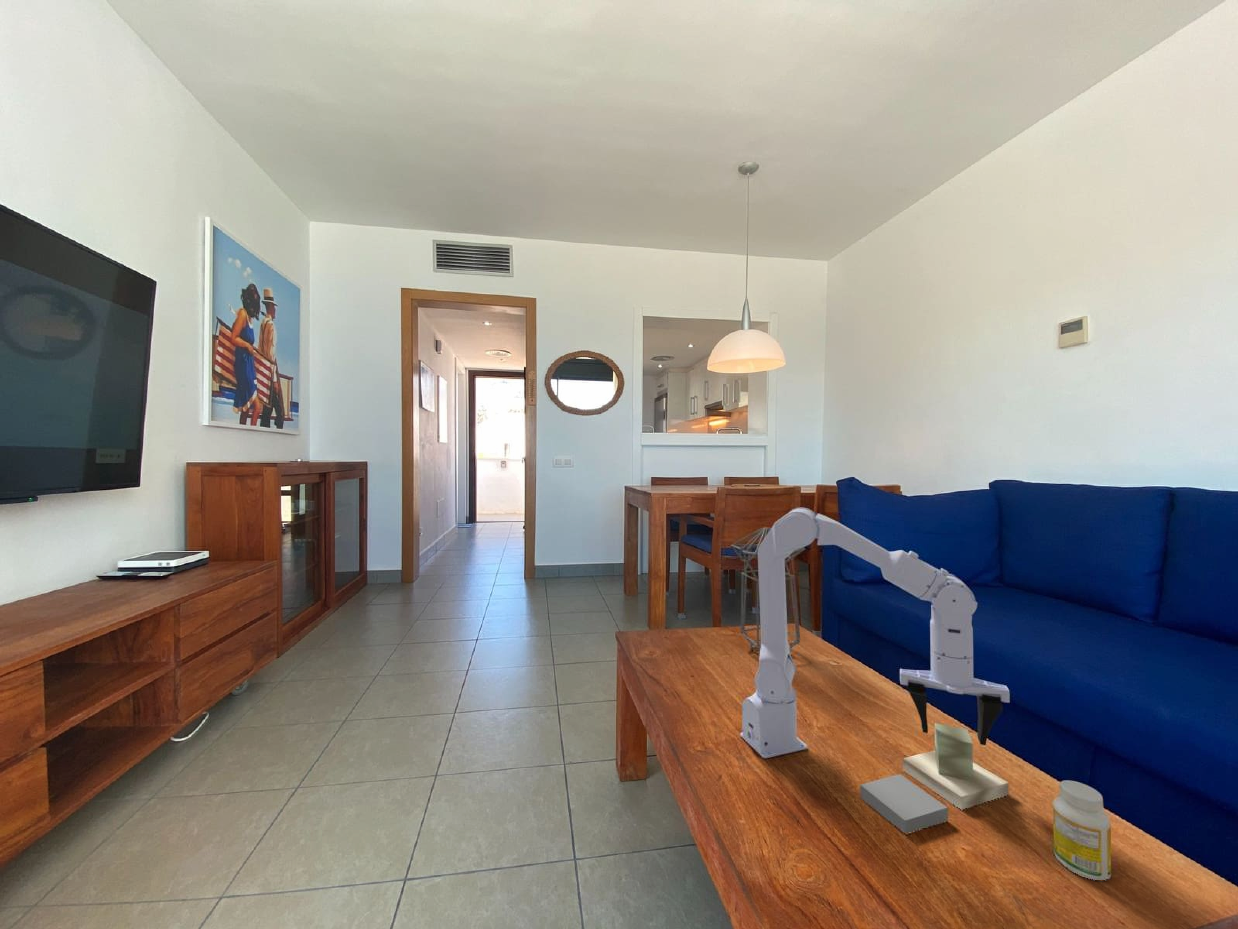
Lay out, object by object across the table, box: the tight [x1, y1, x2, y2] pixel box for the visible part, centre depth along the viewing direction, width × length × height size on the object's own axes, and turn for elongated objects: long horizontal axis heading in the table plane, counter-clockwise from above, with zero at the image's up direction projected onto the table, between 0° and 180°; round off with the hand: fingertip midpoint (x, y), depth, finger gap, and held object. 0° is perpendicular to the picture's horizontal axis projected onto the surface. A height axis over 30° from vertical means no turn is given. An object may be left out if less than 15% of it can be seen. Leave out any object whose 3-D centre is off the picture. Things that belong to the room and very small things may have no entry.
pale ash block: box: [902, 749, 1010, 811], centre depth 78 cm, size 10×10×2 cm
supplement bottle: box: [1052, 779, 1112, 881], centre depth 62 cm, size 5×5×10 cm
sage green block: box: [934, 722, 974, 782], centre depth 78 cm, size 4×4×6 cm
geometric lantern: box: [729, 526, 806, 656], centre depth 133 cm, size 16×16×35 cm
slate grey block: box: [859, 773, 949, 835], centre depth 72 cm, size 8×8×2 cm
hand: (952, 735), depth 78 cm, fingers open, 7 cm apart
